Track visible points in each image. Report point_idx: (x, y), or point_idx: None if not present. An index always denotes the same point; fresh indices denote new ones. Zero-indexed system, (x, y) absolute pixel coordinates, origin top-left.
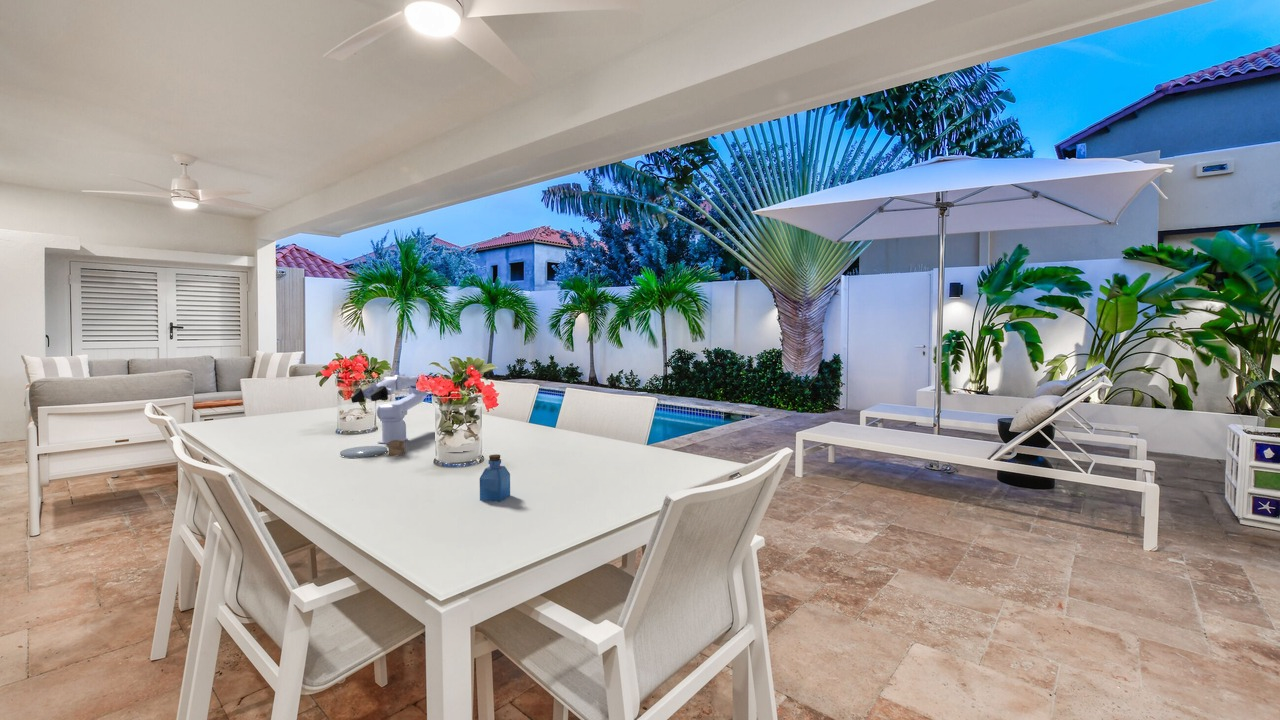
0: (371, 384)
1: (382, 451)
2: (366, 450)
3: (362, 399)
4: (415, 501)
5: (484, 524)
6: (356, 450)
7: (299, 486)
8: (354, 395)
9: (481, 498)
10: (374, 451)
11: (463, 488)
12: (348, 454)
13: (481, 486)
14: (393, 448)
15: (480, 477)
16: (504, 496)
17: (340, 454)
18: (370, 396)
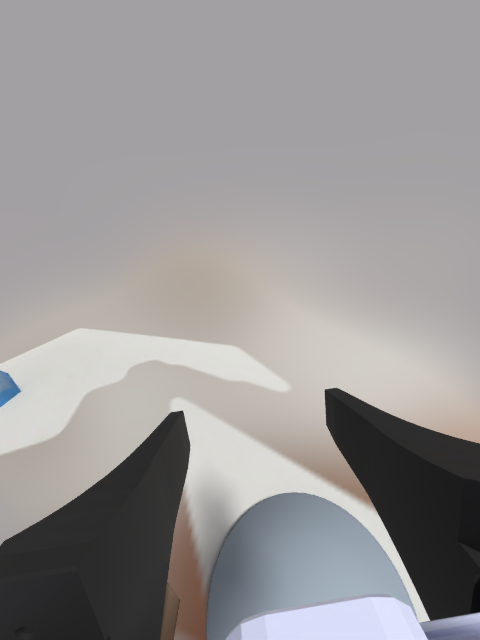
0: (368, 629)
1: (209, 607)
2: (292, 604)
3: (423, 578)
4: (85, 371)
5: (38, 363)
6: (334, 585)
7: (223, 355)
8: (345, 400)
9: (18, 390)
10: (243, 592)
11: (23, 410)
12: (298, 502)
13: (11, 380)
14: None
15: (6, 373)
16: None
17: (338, 507)
18: (183, 414)
